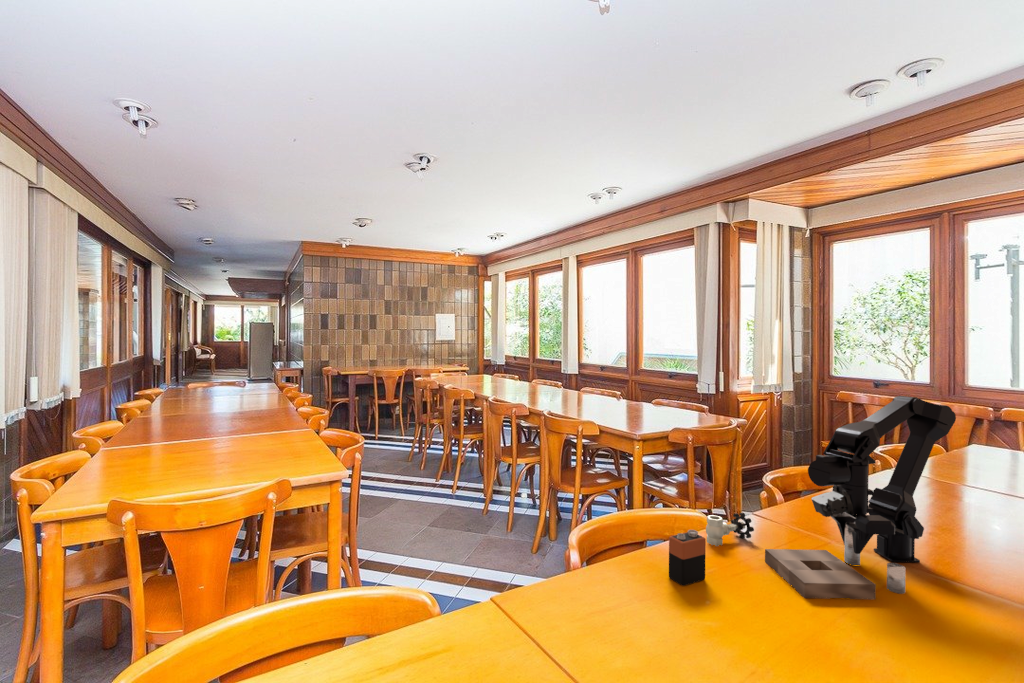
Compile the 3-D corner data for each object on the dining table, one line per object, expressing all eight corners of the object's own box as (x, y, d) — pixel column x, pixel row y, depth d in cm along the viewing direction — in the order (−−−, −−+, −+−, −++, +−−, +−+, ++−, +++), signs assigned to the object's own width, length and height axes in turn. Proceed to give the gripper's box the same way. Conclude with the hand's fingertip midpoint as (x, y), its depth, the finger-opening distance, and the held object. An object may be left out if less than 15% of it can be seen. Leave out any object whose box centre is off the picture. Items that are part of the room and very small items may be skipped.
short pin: (897, 586, 103) (898, 562, 103) (909, 593, 100) (909, 569, 100) (883, 586, 104) (883, 562, 103) (894, 593, 101) (894, 569, 100)
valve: (718, 550, 121) (754, 542, 126) (718, 523, 121) (754, 516, 126) (698, 539, 127) (733, 533, 132) (698, 514, 127) (733, 508, 132)
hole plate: (825, 563, 114) (826, 550, 114) (875, 599, 98) (875, 584, 98) (764, 561, 114) (765, 549, 114) (804, 597, 98) (804, 582, 98)
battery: (706, 580, 105) (706, 533, 105) (682, 587, 102) (683, 539, 102) (690, 571, 109) (691, 526, 109) (667, 578, 106) (668, 531, 106)
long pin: (854, 560, 115) (854, 522, 115) (863, 566, 112) (863, 527, 112) (841, 560, 116) (841, 522, 115) (849, 566, 113) (850, 526, 112)
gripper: (795, 471, 123) (794, 533, 123) (844, 495, 105) (843, 568, 105) (840, 472, 123) (839, 534, 123) (897, 495, 105) (896, 569, 105)
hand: (852, 550), depth 114 cm, fingers closed on long pin, 3 cm apart
